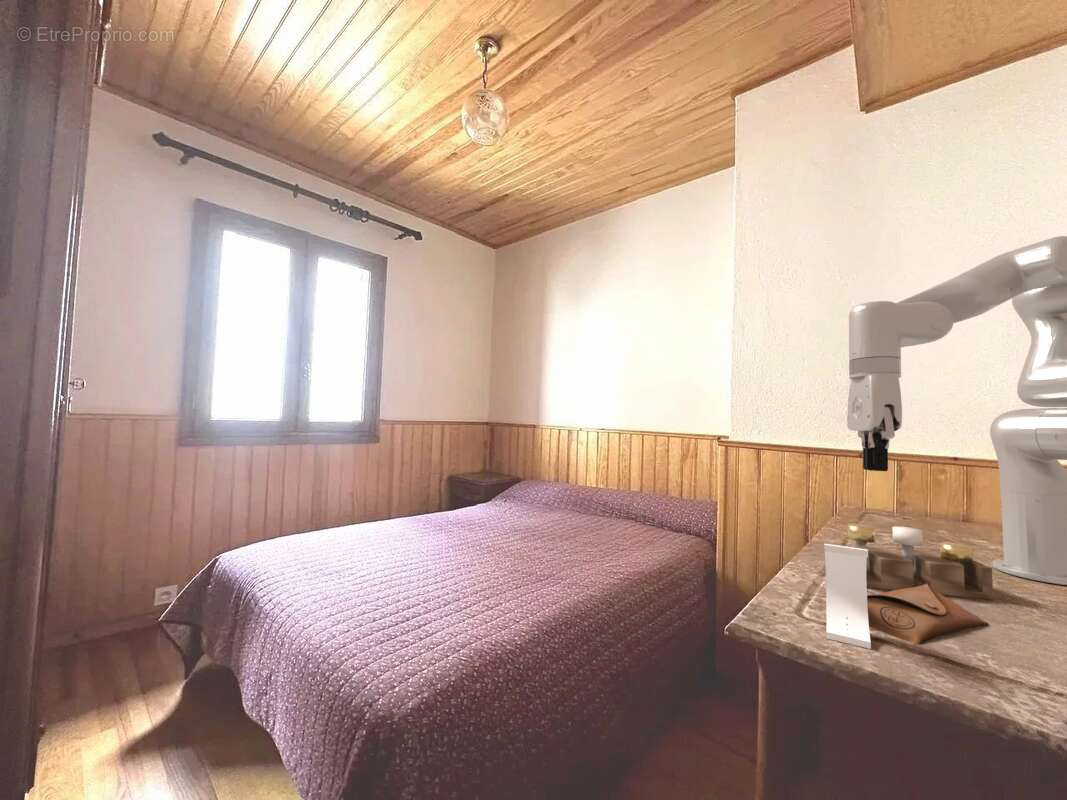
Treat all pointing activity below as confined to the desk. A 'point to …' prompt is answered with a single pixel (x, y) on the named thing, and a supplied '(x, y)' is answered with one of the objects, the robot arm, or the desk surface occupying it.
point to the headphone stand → (847, 595)
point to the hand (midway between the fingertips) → (875, 470)
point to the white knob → (907, 540)
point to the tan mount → (927, 573)
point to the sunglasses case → (917, 614)
